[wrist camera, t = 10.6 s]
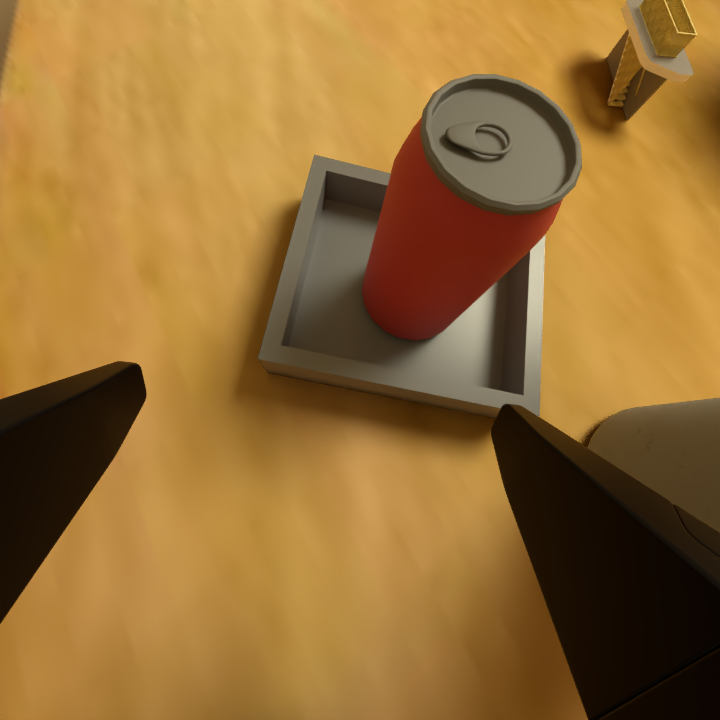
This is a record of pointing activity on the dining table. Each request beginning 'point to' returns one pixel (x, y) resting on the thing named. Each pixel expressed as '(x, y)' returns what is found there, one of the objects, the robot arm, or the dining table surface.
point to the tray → (367, 339)
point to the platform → (649, 51)
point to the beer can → (466, 200)
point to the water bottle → (669, 452)
